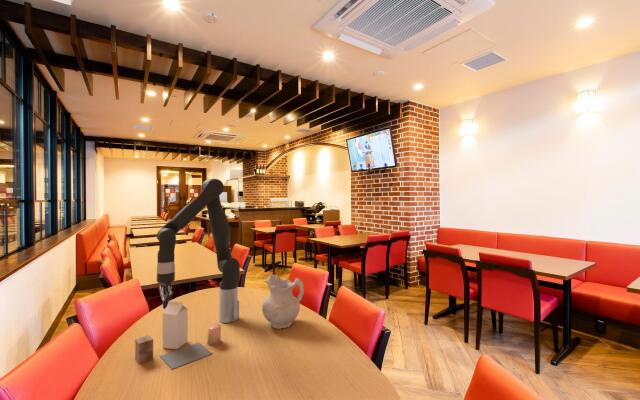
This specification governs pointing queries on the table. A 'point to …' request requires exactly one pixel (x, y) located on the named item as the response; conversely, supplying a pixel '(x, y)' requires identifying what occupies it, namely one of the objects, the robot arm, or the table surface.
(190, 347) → the mat
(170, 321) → the milk carton
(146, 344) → the wooden block
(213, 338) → the pink rounded glossy part
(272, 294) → the ceramic pitcher
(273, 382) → the table surface
